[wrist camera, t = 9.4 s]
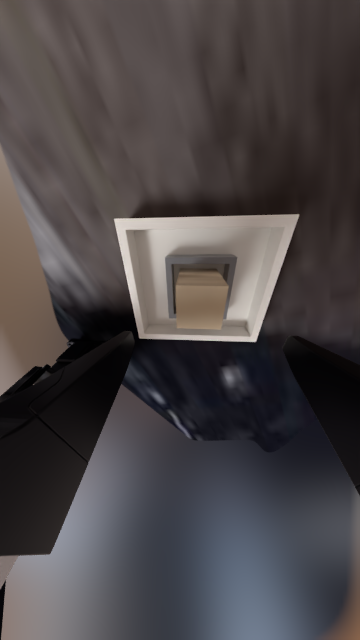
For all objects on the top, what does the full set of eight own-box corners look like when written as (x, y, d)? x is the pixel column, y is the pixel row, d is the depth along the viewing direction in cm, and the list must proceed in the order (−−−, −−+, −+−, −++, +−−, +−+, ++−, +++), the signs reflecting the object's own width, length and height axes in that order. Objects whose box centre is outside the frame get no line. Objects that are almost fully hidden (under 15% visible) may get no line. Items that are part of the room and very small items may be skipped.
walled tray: (247, 328, 21) (255, 341, 18) (145, 325, 21) (139, 338, 19) (279, 217, 14) (299, 214, 11) (127, 221, 15) (114, 218, 12)
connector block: (212, 301, 18) (220, 329, 13) (180, 301, 18) (176, 328, 13) (216, 268, 16) (228, 286, 11) (180, 268, 16) (175, 285, 11)
